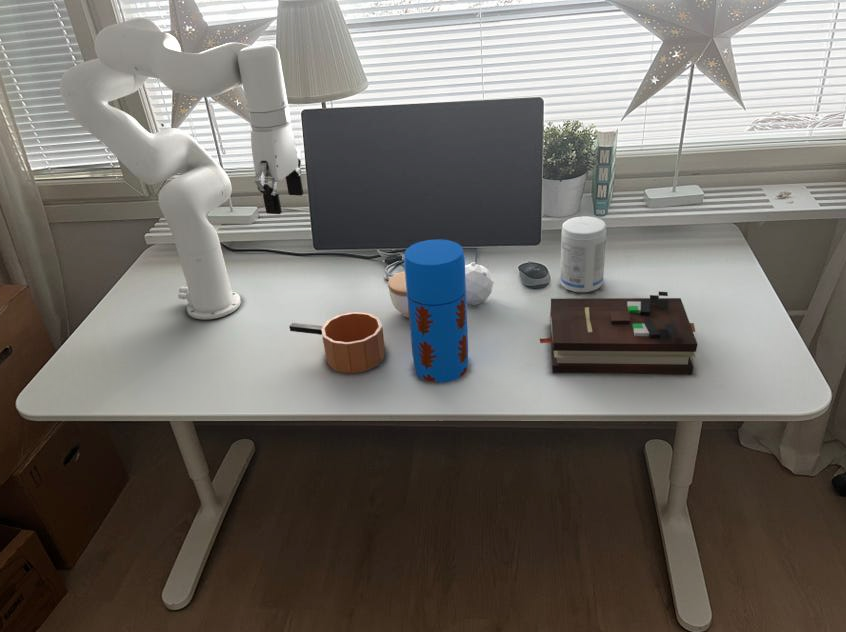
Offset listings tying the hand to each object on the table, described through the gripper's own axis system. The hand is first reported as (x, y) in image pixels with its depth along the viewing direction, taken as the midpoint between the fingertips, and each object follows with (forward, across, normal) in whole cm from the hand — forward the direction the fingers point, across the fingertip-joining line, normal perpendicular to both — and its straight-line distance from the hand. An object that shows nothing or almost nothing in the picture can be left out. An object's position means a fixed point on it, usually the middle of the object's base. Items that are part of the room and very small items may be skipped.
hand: (285, 203), depth 143 cm
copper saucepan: (+28, +10, +12) cm, 32 cm away
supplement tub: (+28, -29, +56) cm, 69 cm away
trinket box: (+28, -10, +22) cm, 37 cm away
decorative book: (+28, -3, +66) cm, 72 cm away
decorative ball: (+28, -18, +34) cm, 48 cm away
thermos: (+28, +10, +34) cm, 45 cm away
